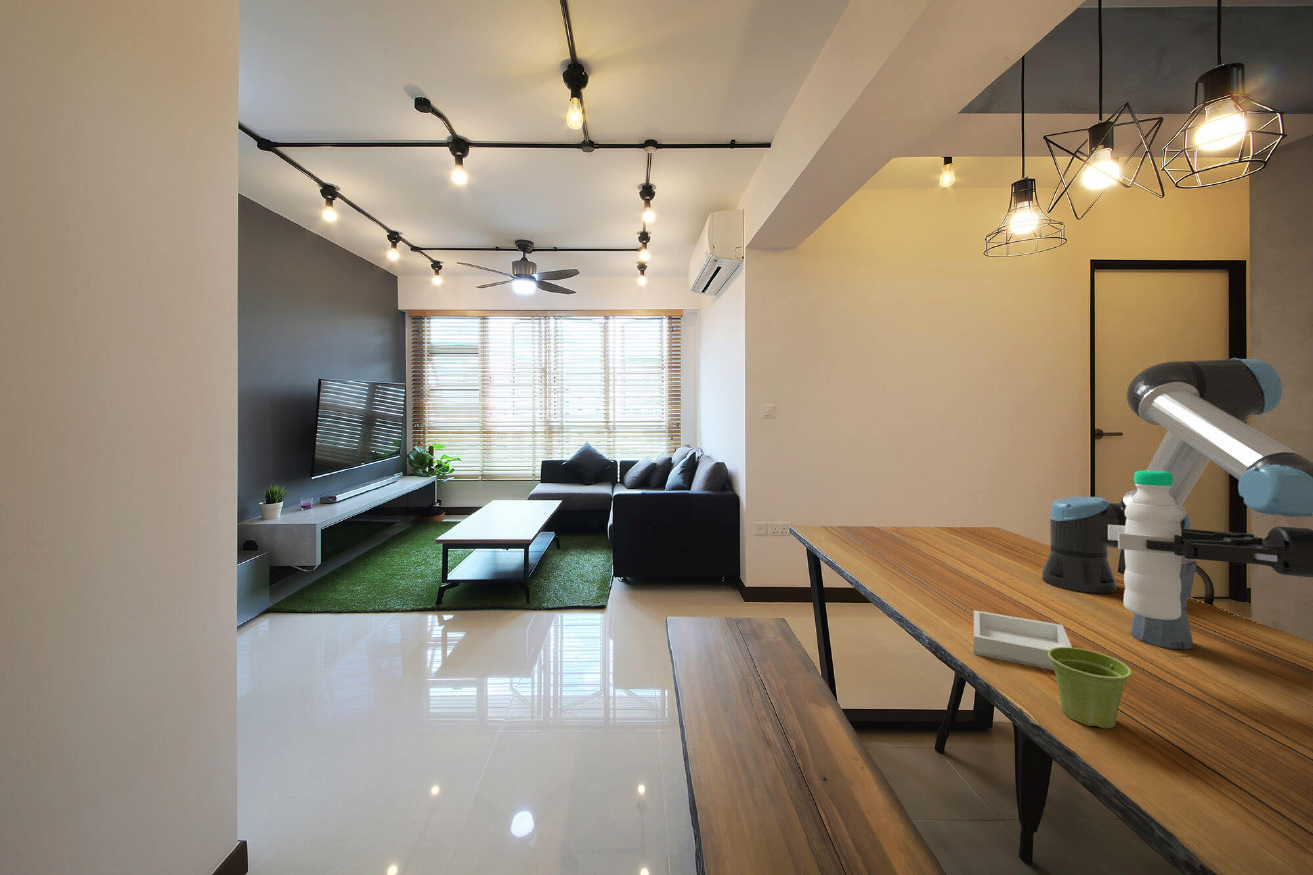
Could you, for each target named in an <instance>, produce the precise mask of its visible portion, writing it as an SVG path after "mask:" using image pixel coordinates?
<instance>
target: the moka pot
mask: <svg viewBox="0 0 1313 875" xmlns="http://www.w3.org/2000/svg"><path fill="white" fill-rule="evenodd" d="M1197 565H1198V562H1197V561H1196V559H1187V558H1184V556H1182V560H1181V570H1180V579H1181V593H1180V601H1181V616H1180V617H1179V618H1177V619H1174V620H1162V619H1154V618H1149V617H1145V616H1141V615H1138V614H1135V613H1133V615H1132V616H1133V617H1132V622H1131V626H1130V627H1131V628H1130V635H1131V636H1133V638H1136V639H1137V640H1139V641H1140V642H1142V643H1146V644H1148V645H1151V646H1155V647H1159V648H1163V649H1171V650H1189V649H1192V648H1193V647H1194V640H1193V637H1192V636H1193V635H1192V632H1191V626H1190V620H1189V616H1188V611H1187V606H1188V599H1189V598H1191V593H1192V589H1193V584H1194V579H1195V574H1196V568H1197Z"/></svg>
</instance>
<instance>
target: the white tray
mask: <svg viewBox="0 0 1313 875" xmlns="http://www.w3.org/2000/svg"><path fill="white" fill-rule="evenodd" d="M1056 647H1073V646H1072V643H1071V642H1070V639H1069V637H1068V635H1067V632H1066V630H1065V628H1064V625H1063V624H1059V623H1053V622H1048V621H1047V622H1046V621H1040V620H1036V619H1035V620H1034V619H1028V618H1023V617H1015V616H1011V615H1006V614H1005V615H1004V614H998V613H993V612H986V611H980V610H973V655H977V656H980V657H986V658H992V659H995V660H1001V661H1004V662H1009V663H1015V664H1021V665H1026V666H1029V667H1035V668H1038V669H1044V670H1048V671H1049V670H1050V671H1053V672H1055V669H1054V667H1053V665H1052V660H1051V659H1050V658H1049V656H1048V651H1049V650H1050V649H1052V648H1056Z"/></svg>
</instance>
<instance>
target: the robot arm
mask: <svg viewBox="0 0 1313 875" xmlns="http://www.w3.org/2000/svg"><path fill="white" fill-rule="evenodd" d="M1282 397H1283V383H1282V381H1281V376H1280V374H1279V373H1278V371H1277V370H1276V369H1275V368H1274V367H1273V366H1272V365H1271V364H1269V363H1268V362H1266V361H1265V360H1261V359H1257V358H1237V357H1233V358H1228V359H1210V360H1209V359H1208V360H1207V359H1205V360H1186V361H1185V360H1184V361H1183V360H1182V361H1180V360H1178V361H1165V362H1161V363H1158V364H1155V365H1152V366H1149V367H1148V368H1145V369H1144V370H1142V371H1141V372H1139V373H1138V374H1136V376H1134V378H1133V379H1132V380H1131V381H1130V384H1129V385H1128V388H1127V390H1126V401H1127V403H1128V404H1127V405H1128V406H1129V407H1130V409H1131V411H1132V412H1133V413H1134V414H1135V415H1136V416H1138V417H1139V418H1140V419H1142V420H1143V421H1144V422H1146V423H1148V424H1151V425H1155V426H1161V427H1163V428H1164V429H1166V430H1167V431H1166V433H1165V435H1164V437H1163V439H1162V441H1161V443H1160V444H1159V446H1158V448H1157V450H1156V452H1155V453H1154V455H1153V458H1152V459H1151V461H1150V463H1149V465H1148V467H1147V469H1146V470H1145V471H1163V472H1169V473H1171V474H1172V476H1173V484H1172V485H1171V486H1172V487H1171V488H1170V489H1169V494H1170V495H1171V497H1172V498H1173V499H1174V500H1175V504H1176V505H1177V506H1178V508H1179V509H1180V511H1181V513H1182V521H1181V522H1180V525H1181V534H1182V536H1179V535H1174V542H1173V538H1172V537H1164V536H1152V535H1139V534H1127V533H1125V524H1126V516H1125V508H1126V506H1127V505H1128V504H1129V502H1130V501H1131V499H1132V497H1133V496H1134V495H1135V494H1136V492H1137V490H1138V488H1137V487H1136V489H1132V490H1129V491H1127V492H1126V493H1125V494H1123V496H1122V499H1121V501H1120V502H1119V503H1117V502H1116V503H1113V502H1109V501H1108V499H1107V498H1104V497H1100V496H1099V497H1098V496H1071V497H1064V498H1059V499H1056V500H1054V501H1053V502H1052V503H1051V506H1050V507H1051V508H1050V515H1049V518H1050V552H1049V554H1048V557H1047V559H1046V561H1045V564H1044V567H1043V569H1042V574H1041V579H1042V580H1043V581H1044V582H1045V583H1047V584H1050V585H1051V586H1055V587H1059V588H1062V589H1065V590H1070V591H1075V592H1081V593H1091V594H1092V593H1093V594H1110V593H1115V592H1116V591H1117V580H1116V578H1115V575H1114V572H1113V569H1112V568H1111V565H1110V563H1109V560H1108V552H1109V551H1108V548H1114V549H1115V548H1117V549H1119V550H1134V551H1145V552H1155V553H1166V554H1172V552H1174V554H1175V555H1178V556H1184V558H1187V559H1193V560H1203V561H1214V562H1226V563H1239V564H1250V565H1251V564H1252V565H1253V564H1254V565H1261V566H1268V567H1270V568H1272V570H1273V571H1275V572H1276V573H1277V574H1280V575H1283V576H1294V577H1303V578H1312V579H1313V529H1312V528H1307V527H1306V528H1305V527H1295V526H1294V527H1293V526H1292V527H1291V526H1275V527H1272V528H1271V529H1270V530H1269V532H1268V533H1267V536H1266V537H1265V538H1262V537H1257V536H1255V534H1252V533H1243V532H1237V531H1220V530H1219V531H1218V530H1216V531H1215V530H1206V529H1193V528H1190V527H1191V526H1192V524H1191V518H1190V516H1189V515H1188V513H1187V511H1186V508H1185V507H1184V506H1183V504H1184V503H1185V501H1186V500H1187V499H1188V497H1189V495H1190V493H1191V492H1192V490H1193V488H1194V487H1195V485H1196V484H1197V482H1198V480H1199V479H1200V477H1201V476H1202V474H1203V473H1204V471H1205V469H1206V468H1207V466H1208V465H1209V463H1210V462H1213V463H1215V464H1216V466H1219V467H1220V468H1221V469H1223V470H1224V471H1225V472H1226V473H1228V474H1230V475H1231V476H1233V477H1234V478H1235V479H1237V480H1238V484H1237V485H1238V486H1237V489H1238V494H1239V497H1242V498H1243V503H1244V505H1246V506H1247V508H1249V509H1250V510H1252V511H1255V512H1258V513H1260V514H1263V515H1264V514H1265V515H1276V516H1283V517H1289V518H1293V517H1295V518H1297V517H1299V518H1300V517H1313V460H1311V459H1309V458H1307V457H1306V456H1304V455H1301V454H1300V453H1298V452H1296V451H1295V450H1293V449H1291V448H1289V447H1288V446H1286V445H1284V444H1282V443H1280V442H1279V441H1277V440H1275V439H1273V438H1272V437H1270V436H1269V435H1267V434H1265V433H1263V432H1262V431H1259V430H1257V429H1256V428H1254V427H1253V426H1251V425H1250V424H1248V423H1247V421H1248V420H1249V419H1250V417H1251V416H1254V415H1255V416H1261V415H1264V414H1266V413H1270V412H1272V411H1274V410H1275V409H1276V408H1277V407H1278V405H1279V404H1280V402H1281V401H1282Z"/></svg>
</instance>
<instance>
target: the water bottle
mask: <svg viewBox="0 0 1313 875" xmlns="http://www.w3.org/2000/svg"><path fill="white" fill-rule="evenodd" d="M1133 475H1134V476H1133V481H1134V485H1135V487H1136V489H1137V488H1138V490H1137V492H1136V494H1135V495H1134V496H1133V497H1132V499H1131V501H1130V502H1129V504H1128V505H1127V506H1126V508H1125V516H1126V524H1125V533H1127V534H1139V535H1152V536H1164V537H1172V538H1173V542H1174V535H1179V536H1182V534H1181V525H1180V522H1181V521H1182V513H1181V511H1180V509H1179V508H1178V506H1177V505H1176V504H1175V500H1174V499H1173V498H1172V497H1171V495H1170V494H1169V489H1170V488H1171V487H1172V486H1171V485H1172V484H1173V476H1172V474H1171V473H1169V472H1163V471H1146V470H1138V471H1135V472H1134V474H1133ZM1181 560H1182V556H1178V555H1175V554H1174V552H1172V554H1166V553H1155V552H1145V551H1134V550H1124V562H1125V563H1124V564H1125V565H1124V566H1125V570H1124V573H1123V574H1124V575H1123V582H1124V591H1123V592H1124V593H1123V606H1124V608H1125V609H1126V610H1128V611H1129V612H1131V613H1133V614H1134V613H1135V614H1138V615H1141V616H1145V617H1149V618H1154V619H1162V620H1174V619H1177V618H1179V617H1180V616H1181V601H1180V593H1181V579H1180V570H1181Z"/></svg>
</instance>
